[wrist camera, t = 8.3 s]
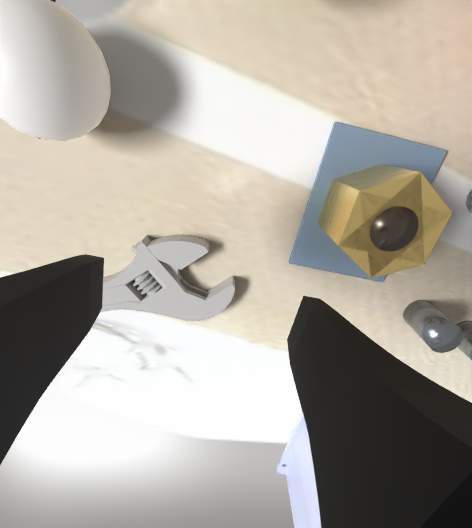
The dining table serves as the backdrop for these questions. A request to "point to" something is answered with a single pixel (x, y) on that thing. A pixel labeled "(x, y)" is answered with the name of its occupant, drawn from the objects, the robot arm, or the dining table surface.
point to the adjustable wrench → (165, 281)
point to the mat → (343, 163)
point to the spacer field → (440, 324)
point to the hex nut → (384, 218)
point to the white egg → (50, 71)
